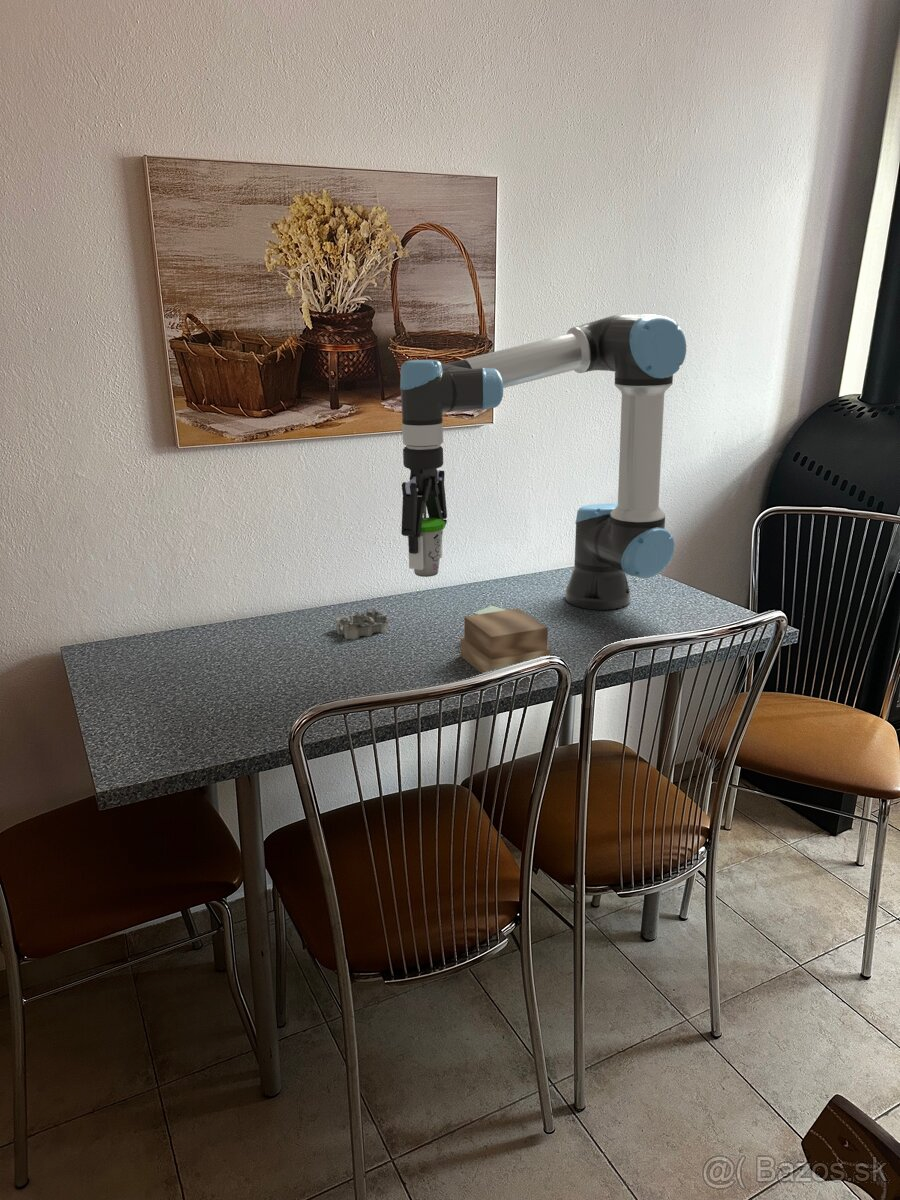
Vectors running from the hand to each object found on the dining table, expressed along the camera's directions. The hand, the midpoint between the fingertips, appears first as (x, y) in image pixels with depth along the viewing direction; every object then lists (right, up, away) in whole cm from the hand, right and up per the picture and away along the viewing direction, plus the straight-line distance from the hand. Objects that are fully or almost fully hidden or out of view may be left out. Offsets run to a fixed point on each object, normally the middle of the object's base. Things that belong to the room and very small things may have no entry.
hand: (426, 562), depth 168 cm
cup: (0, -2, +1) cm, 3 cm away
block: (+14, -16, +14) cm, 25 cm away
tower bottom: (+15, -20, +2) cm, 25 cm away
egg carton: (-14, -14, +18) cm, 28 cm away
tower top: (+16, -16, +1) cm, 22 cm away
